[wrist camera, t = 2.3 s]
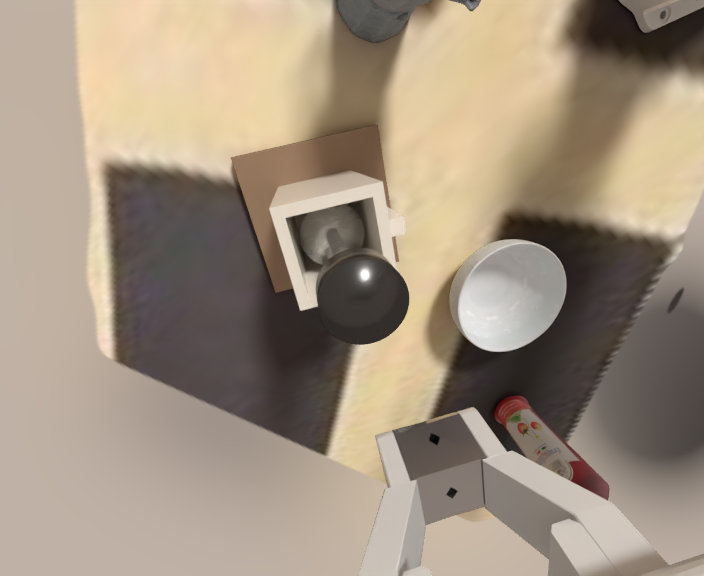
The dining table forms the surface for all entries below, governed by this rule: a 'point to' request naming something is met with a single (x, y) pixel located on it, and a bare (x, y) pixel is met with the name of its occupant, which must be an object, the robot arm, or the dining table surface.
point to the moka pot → (382, 16)
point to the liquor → (546, 445)
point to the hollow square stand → (316, 201)
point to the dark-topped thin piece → (352, 278)
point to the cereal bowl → (507, 294)
